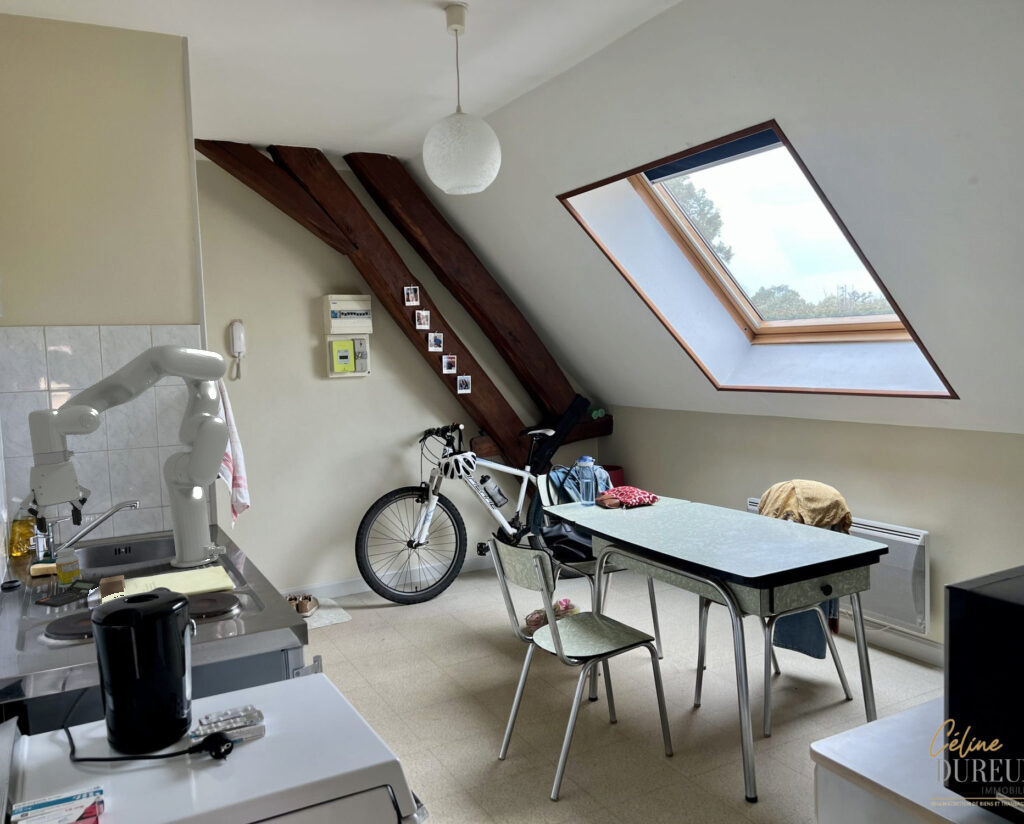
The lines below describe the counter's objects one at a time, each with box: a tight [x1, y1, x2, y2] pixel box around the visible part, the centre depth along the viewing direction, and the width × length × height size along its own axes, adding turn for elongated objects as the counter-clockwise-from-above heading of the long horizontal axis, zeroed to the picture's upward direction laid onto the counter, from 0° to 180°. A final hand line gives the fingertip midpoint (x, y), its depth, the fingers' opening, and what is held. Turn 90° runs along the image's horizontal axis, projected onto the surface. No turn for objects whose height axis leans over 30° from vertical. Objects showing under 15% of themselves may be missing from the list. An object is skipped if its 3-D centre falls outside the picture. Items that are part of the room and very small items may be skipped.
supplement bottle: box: [55, 547, 82, 589], centre depth 211 cm, size 5×5×10 cm
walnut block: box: [99, 574, 126, 599], centre depth 196 cm, size 5×5×5 cm
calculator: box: [34, 579, 100, 608], centre depth 199 cm, size 9×12×3 cm
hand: (60, 528), depth 198 cm, fingers open, 7 cm apart
